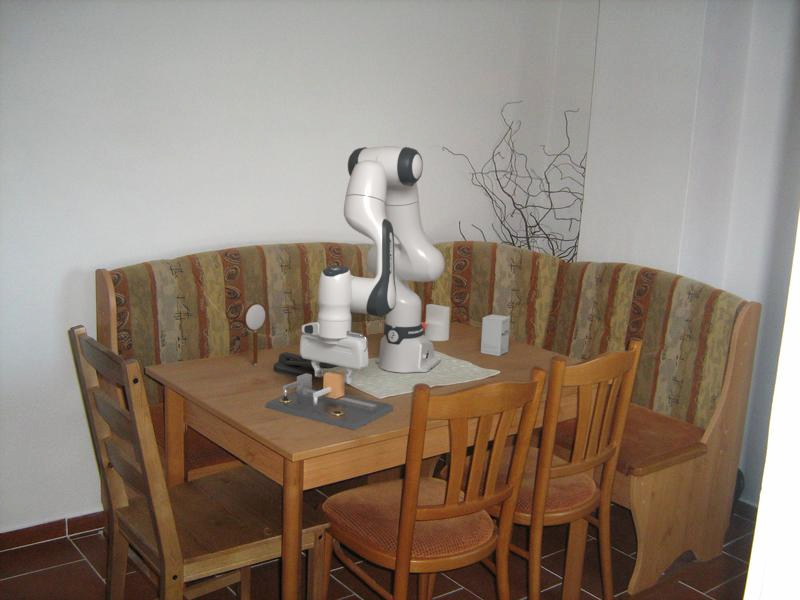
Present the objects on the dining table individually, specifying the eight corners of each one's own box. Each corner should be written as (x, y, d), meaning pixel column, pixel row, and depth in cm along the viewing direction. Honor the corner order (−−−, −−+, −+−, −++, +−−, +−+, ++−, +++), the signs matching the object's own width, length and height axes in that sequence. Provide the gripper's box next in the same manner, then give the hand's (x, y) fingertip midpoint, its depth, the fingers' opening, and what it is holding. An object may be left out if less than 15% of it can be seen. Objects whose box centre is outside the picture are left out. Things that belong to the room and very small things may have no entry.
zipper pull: (328, 366, 221) (269, 350, 237) (327, 388, 223) (269, 371, 238) (349, 360, 228) (291, 345, 244) (349, 382, 229) (291, 365, 245)
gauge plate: (309, 391, 219) (309, 368, 218) (393, 410, 205) (393, 386, 204) (266, 407, 204) (266, 384, 203) (354, 430, 190) (354, 404, 189)
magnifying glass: (246, 369, 239) (246, 305, 235) (242, 368, 240) (242, 304, 236) (267, 363, 245) (267, 301, 241) (264, 362, 246) (263, 300, 243)
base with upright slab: (419, 338, 285) (420, 305, 283) (434, 334, 292) (435, 302, 290) (439, 342, 280) (440, 309, 277) (453, 338, 286) (455, 306, 284)
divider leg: (332, 393, 210) (332, 370, 209) (344, 396, 208) (344, 373, 207) (308, 404, 201) (308, 379, 200) (320, 407, 199) (320, 382, 198)
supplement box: (499, 356, 262) (501, 320, 260) (480, 353, 266) (481, 317, 264) (508, 352, 269) (510, 316, 266) (489, 348, 272) (491, 313, 270)
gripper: (374, 332, 201) (372, 384, 203) (311, 321, 211) (310, 370, 214) (360, 336, 196) (358, 389, 198) (296, 325, 206) (295, 375, 208)
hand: (333, 379), depth 206 cm, fingers open, 8 cm apart
